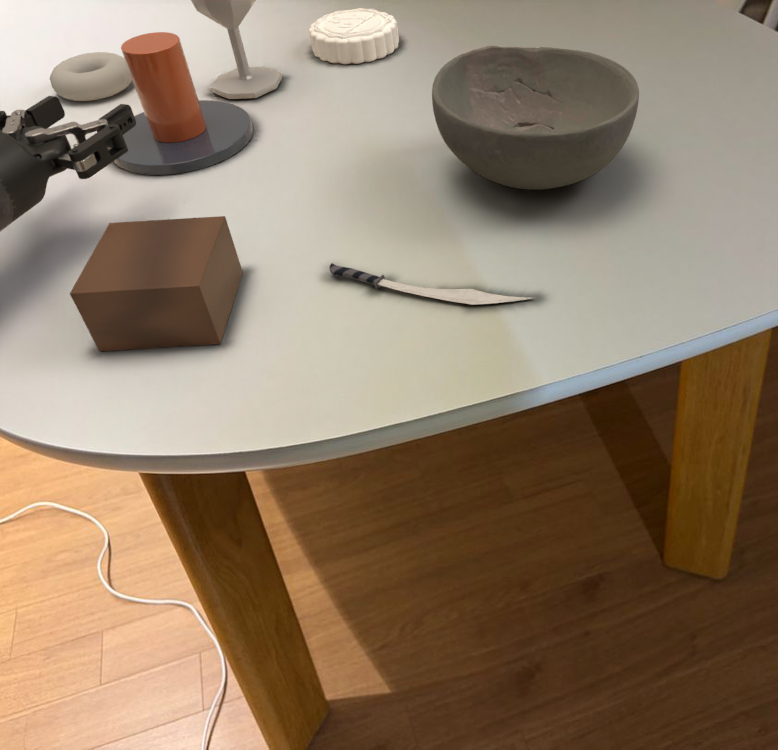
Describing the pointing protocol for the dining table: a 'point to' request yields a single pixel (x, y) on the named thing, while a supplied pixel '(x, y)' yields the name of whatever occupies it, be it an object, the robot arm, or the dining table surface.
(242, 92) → the wineglass
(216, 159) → the plate
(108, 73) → the donut
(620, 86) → the bowl
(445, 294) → the knife
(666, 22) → the dining table surface
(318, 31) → the mooncake
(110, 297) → the stand
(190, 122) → the orange cylinder
